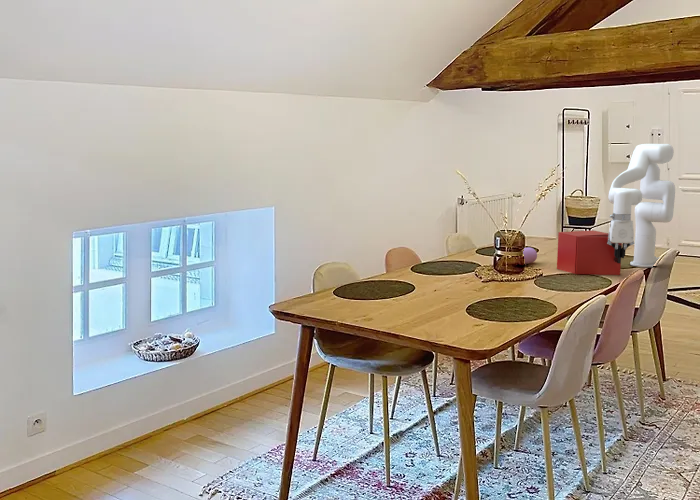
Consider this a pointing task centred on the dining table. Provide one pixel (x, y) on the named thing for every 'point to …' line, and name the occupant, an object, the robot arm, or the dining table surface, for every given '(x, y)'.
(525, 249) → the toy
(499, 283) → the dining table surface
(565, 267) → the cabinet
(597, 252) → the door
